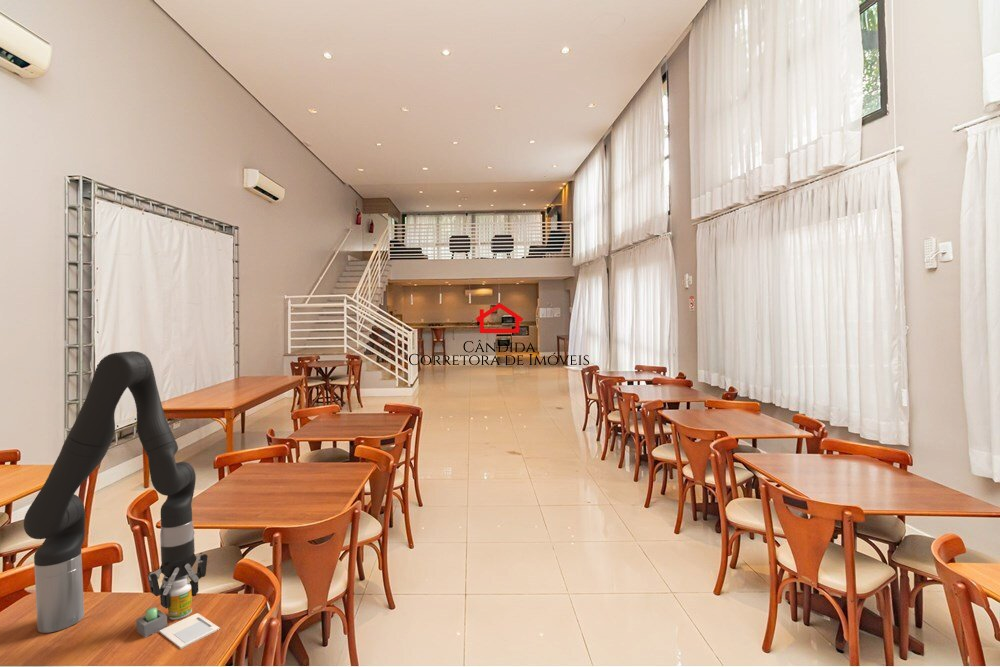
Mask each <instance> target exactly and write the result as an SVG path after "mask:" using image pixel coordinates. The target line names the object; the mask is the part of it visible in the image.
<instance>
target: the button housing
mask: <svg viewBox="0 0 1000 667" xmlns="http://www.w3.org/2000/svg"><path fill="white" fill-rule="evenodd" d="M135 622H136V624H135V625H136V632H137V633H139V634H140V635H141V636H142V637H143V638H148V637H150V636H152V635H154V634H157V633H158V632H159V631H160V630H162V629H164V628H166V627H168V615H166V614H165V613H164V612H162V611H161V610H159V609H157V618H156V619H154V620H152V621H150V622H148V623H147V622H146V614H145V615H143V616H141V617H138V618H136V621H135ZM153 633H154V634H153ZM151 634H152V635H151ZM149 635H150V636H149Z"/></svg>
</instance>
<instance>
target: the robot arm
mask: <svg viewBox="0 0 1000 667" xmlns="http://www.w3.org/2000/svg"><path fill="white" fill-rule="evenodd" d="M155 376H156V375H155V372H154V368H153V365H152V362H151V360H150V359H149V357H148V356H147V355H146V354H144V353H143V352H140V351H136V350H135V351H133V350H132V351H121V352H113V353H110V354H107V355H106V356H104V357H103V358H102V359H101V360H100V361H99V363H98V364H97V366H96V368H95V370H94V373H93V376H92V379H91V383H90V384H89V388H88V392H87V395H86V396H85V400H84V402H83V404H82V405H81V408H80V410H79V412H78V414H77V416H76V419H75V421H74V422H73V425H72V427H71V428H70V431H69V432H68V434H67V436H66V438H65V441H64V442H63V445H62V447H61V449H60V452H59V454H58V456H57V458H56V460H55V462H54V464H53V466H52V468H51V470H50V472H49V474H48V476H47V478H46V480H45V482H44V484H43V486H42V487H41V489H40V490H39V492H38V494H37V495H36V497H34V500H33V501H32V503H31V505H30V506H29V508H28V509H27V511H26V513H25V515H24V519H23V529H24V532H25V534H26V535H27V536H28V537H30V538H31V539H33V540H43V542H42V544H41V545H39V548H37V550H36V551H35V552H34V554H33V560H34V561H33V562H34V564H33V565H34V582H35V583H34V584H35V602H36V603H35V604H36V605H35V606H36V607H35V608H36V625H37V632H38V633H41V634H42V633H43V634H46V633H47V634H48V633H54V632H58V631H62V630H64V629H68V628H70V627H72V626H74V625H75V624H77V623H79V622H80V621H81V620H83V618H84V617H85V607H84V606H85V604H84V601H85V600H84V599H85V598H84V580H83V563H82V562H83V561H82V558H83V557H82V546H83V543H84V541H85V536H86V534H85V533H86V530H85V529H86V510H85V505H84V502H83V501H82V499H81V498H80V497H79V496H78V495H77V494H75V493H76V492H77V490H78V489H79V487H80V486H81V485H82V484H83V483H84V482H85V481H86V480H87V479H88V477H89V476H91V474H92V473H93V472H94V471H95V470H96V468H98V466H99V465H100V464H101V463H102V461H103V460H104V458H105V457H106V454H107V452H108V450H109V448H110V446H111V445H112V442H113V440H114V436H115V434H116V422H115V421H116V420H115V411H116V408H117V405H118V404H119V402H120V400H121V398H122V396H123V395H124V392H125V391H126V390H127V388H128V389H129V392H130V393H131V395H132V397H133V400H134V403H135V409H136V432H137V435H138V438H139V441H140V443H141V445H142V448H143V450H144V453H145V455H146V456H147V459H148V468H149V476H150V477H149V478H150V481H151V484H152V486H153V488H154V489H155V490H156V492H158V494H160V495H161V496H162V495H163V496H165V497H166V500H165V501H164V502H163V504H162V505H161V507H160V535H159V537H160V538H159V540H160V557H161V558H160V559H161V560H160V561H161V565H160V566H159V568H158V569H157V570H155V571H149V572H148V573H147V579H148V584H149V585H148V586H149V588H150V593H151V595H152V594H153V595H154V596H155V597H158V596H160V597H159V598H160V605H161V606H162V607H163V608H165V609H167V610H168V608H169V607H170V602H169V594H168V592H169V589H170V587H171V586H172V584H173V582H174V580H176V579H178V578H180V577H183V576H186V575H187V576H188V579H189V580H190V581H189V583H190V584H191V591H192V598H193V597H195V596H197V594H198V592H199V581H200V579H202V578H204V577H205V576H206V575H207V565H208V555H207V554H206V553H204V552H200V553H199V554H197V555H196V554H195V552H196V550H195V528H194V522H193V508H192V502H193V498H194V494H195V493H194V492H195V487H196V479H197V478H196V470H195V468H194V467H193V466H192V464H191V463H189V462H187V461H179V462H176V459H175V455H176V454H177V453H178V450H179V446H178V442H177V441H176V438H175V435H174V434H173V432H172V428H171V427H170V425H169V421H168V420H167V417H166V414H165V412H164V408H163V405H162V400H161V398H160V393H159V390H158V385H157V382H156V381H157V380H156V377H155ZM196 562H197V568H196V569H197V570H196V572H195V570H194V569H193V566H194V565H195V563H196ZM160 575H163V577H162V580H161V585H160V584H159V580H160V578H161V576H160ZM159 585H160V586H159Z"/></svg>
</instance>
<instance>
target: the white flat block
mask: <svg viewBox="0 0 1000 667" xmlns="http://www.w3.org/2000/svg"><path fill="white" fill-rule="evenodd" d="M219 629H220V630H221V627H220V626H218V625H216V624H215V623H214V622H212V621H210V620H209V619H207V618H206V617H204V616H203V615H202V614H200V613H198V612H196V613H195V614H192V615H190V616H186V617H184V618H182V619H180V621H177V622H175V623H172V624H170V625H167V627H166V628H164V629H162V630H160V631H158V632H159V634H161V635H162V636H164V637H165V638H166V639H167V640H169V641H170V642H171V643H173V644H174V645H175V646H177V648H179V649H180V650H182V649H184V648H186V647H188V646H190V645H192V644H194V643H196V642H198V641H200V640H202V639H203V638H206V637H207V636H208V637H209V635H212V634H213V633H215V632H218V631H220V630H219ZM217 630H218V631H217Z"/></svg>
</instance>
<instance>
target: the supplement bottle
mask: <svg viewBox="0 0 1000 667" xmlns="http://www.w3.org/2000/svg"><path fill="white" fill-rule="evenodd" d="M168 594H169V602H170V607H169V608H167V614H168V615H167V618H168V619H169V620H182V619H185V618H187V617H189V615H191V613H192V612H193V596H192V591H191V584H190V582H189V577H188V575H186V576H183V577H180V578H178V579H176V580H174V582H173V584H172V586H171V587H170V589H169V592H168Z"/></svg>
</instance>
